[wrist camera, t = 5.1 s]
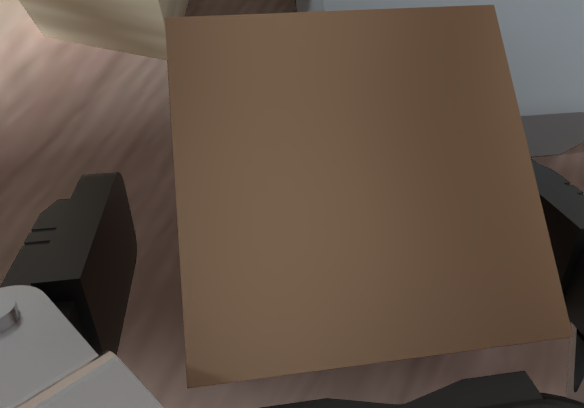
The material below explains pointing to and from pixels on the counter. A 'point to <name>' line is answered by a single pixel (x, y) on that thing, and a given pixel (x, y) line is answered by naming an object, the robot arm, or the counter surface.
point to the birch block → (108, 23)
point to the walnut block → (352, 192)
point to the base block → (524, 61)
